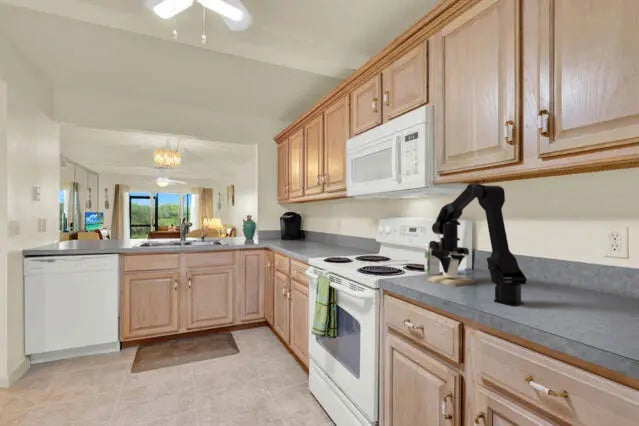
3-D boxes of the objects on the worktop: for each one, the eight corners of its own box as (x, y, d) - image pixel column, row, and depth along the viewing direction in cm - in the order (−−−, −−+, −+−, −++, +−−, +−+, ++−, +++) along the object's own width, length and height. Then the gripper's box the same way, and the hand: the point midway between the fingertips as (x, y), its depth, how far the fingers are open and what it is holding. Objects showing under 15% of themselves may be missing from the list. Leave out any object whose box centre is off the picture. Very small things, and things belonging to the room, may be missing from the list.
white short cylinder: (456, 277, 130) (456, 260, 130) (439, 275, 134) (439, 259, 134) (460, 275, 136) (460, 259, 136) (444, 273, 140) (444, 257, 140)
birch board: (475, 282, 133) (475, 279, 133) (455, 286, 125) (455, 283, 125) (445, 276, 145) (445, 274, 145) (426, 280, 137) (426, 277, 137)
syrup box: (424, 272, 156) (424, 243, 156) (436, 272, 156) (436, 243, 156) (427, 274, 151) (427, 244, 151) (440, 274, 150) (440, 244, 150)
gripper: (446, 234, 147) (447, 267, 147) (420, 235, 137) (420, 271, 136) (469, 235, 138) (469, 271, 137) (443, 236, 127) (443, 275, 127)
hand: (450, 271), depth 135 cm, fingers closed on white short cylinder, 6 cm apart
